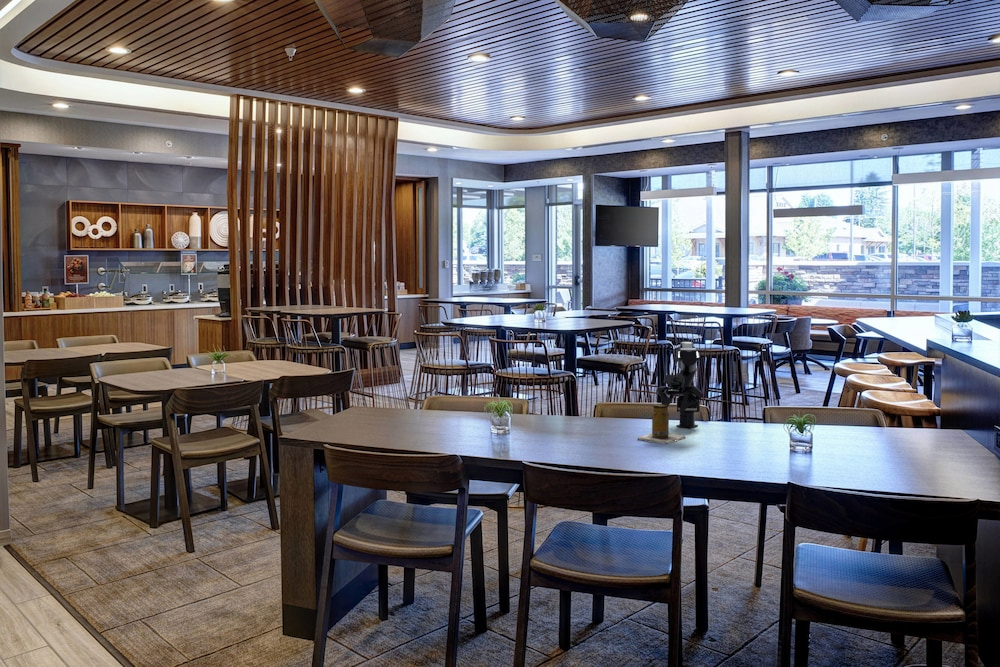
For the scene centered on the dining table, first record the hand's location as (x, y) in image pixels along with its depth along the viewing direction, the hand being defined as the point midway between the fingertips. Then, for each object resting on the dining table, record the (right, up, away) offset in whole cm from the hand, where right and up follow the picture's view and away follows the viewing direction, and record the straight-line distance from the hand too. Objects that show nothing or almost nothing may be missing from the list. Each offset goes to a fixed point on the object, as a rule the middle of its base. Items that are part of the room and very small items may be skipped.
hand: (671, 411), depth 302 cm
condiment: (-5, -9, -6) cm, 12 cm away
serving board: (-5, -10, -5) cm, 12 cm away
